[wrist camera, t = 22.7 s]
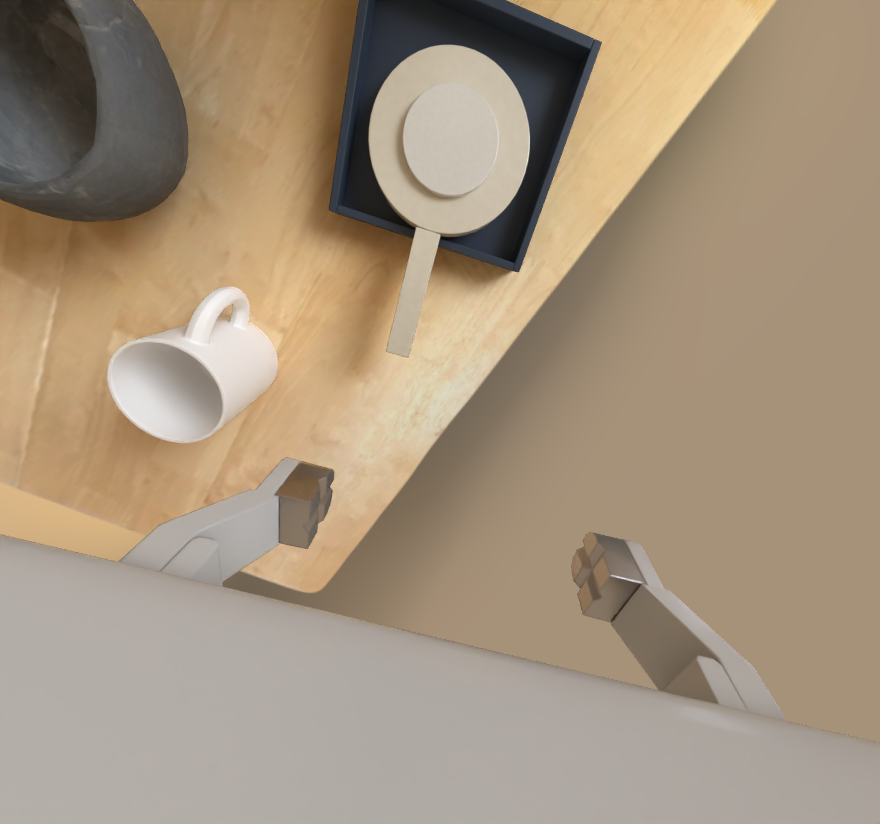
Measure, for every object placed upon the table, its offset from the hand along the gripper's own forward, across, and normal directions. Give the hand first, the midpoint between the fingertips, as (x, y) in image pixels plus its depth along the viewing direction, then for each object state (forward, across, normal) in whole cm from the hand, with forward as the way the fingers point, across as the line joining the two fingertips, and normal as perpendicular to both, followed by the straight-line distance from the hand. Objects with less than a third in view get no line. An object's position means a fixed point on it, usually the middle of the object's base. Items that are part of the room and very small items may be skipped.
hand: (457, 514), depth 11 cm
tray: (+26, +5, -14) cm, 30 cm away
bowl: (+24, +30, -9) cm, 40 cm away
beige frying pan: (+23, +5, -8) cm, 25 cm away
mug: (+24, +21, +6) cm, 32 cm away
